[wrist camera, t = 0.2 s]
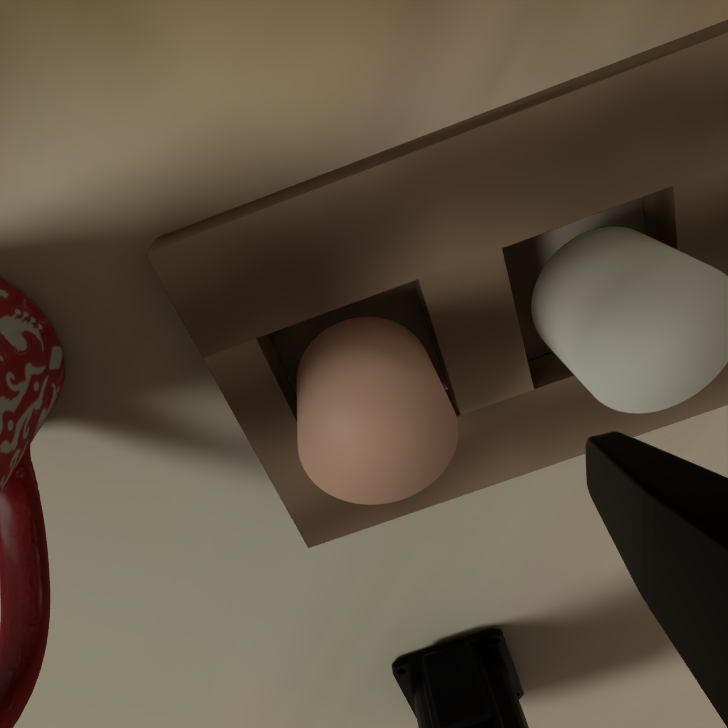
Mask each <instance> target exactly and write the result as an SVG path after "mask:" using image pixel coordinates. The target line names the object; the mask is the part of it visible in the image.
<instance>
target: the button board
mask: <svg viewBox="0 0 728 728" xmlns="http://www.w3.org/2000/svg"><path fill="white" fill-rule="evenodd" d="M641 197H643V204H644V214H645V225H646V235H647V236H649V237H651V238H653V239H655V240H657V241H659V242H661V243H664V244H666V245H668V246H670V247H672V248H674V249H676V250H678V251H680V252H682V253H685V254H687V255H689V256H691V257H693V258H695V259H697V260H699V261H701V262H704V263H706V264H708V265H710V266H712V267H714V268H716V269H718V270H720V271H721V272H723V273H724V274H726V275H727V276H728V20H726V21H724V22H721V23H718V24H716V25H713V26H711V27H708V28H705V29H703V30H700V31H698V32H695V33H692V34H690V35H687V36H684V37H682V38H679V39H677V40H674V41H671V42H669V43H666V44H663V45H661V46H658V47H656V48H653V49H650V50H648V51H645V52H643V53H640V54H637V55H635V56H632V57H629V58H627V59H624V60H622V61H619V62H616V63H614V64H611V65H608V66H606V67H603V68H601V69H598V70H595V71H593V72H590V73H588V74H585V75H582V76H580V77H577V78H574V79H572V80H569V81H567V82H564V83H561V84H559V85H556V86H553V87H551V88H548V89H546V90H543V91H540V92H538V93H535V94H532V95H530V96H527V97H525V98H522V99H519V100H517V101H514V102H512V103H509V104H506V105H504V106H501V107H498V108H496V109H493V110H491V111H488V112H485V113H483V114H480V115H477V116H475V117H472V118H470V119H467V120H464V121H462V122H459V123H457V124H454V125H451V126H449V127H446V128H443V129H441V130H438V131H436V132H433V133H430V134H428V135H425V136H422V137H420V138H417V139H415V140H412V141H409V142H407V143H404V144H402V145H399V146H396V147H394V148H391V149H388V150H386V151H383V152H381V153H378V154H375V155H373V156H370V157H367V158H365V159H362V160H360V161H357V162H354V163H352V164H349V165H347V166H344V167H341V168H339V169H336V170H333V171H331V172H328V173H326V174H323V175H320V176H318V177H315V178H312V179H310V180H307V181H305V182H302V183H299V184H297V185H294V186H292V187H289V188H286V189H284V190H281V191H278V192H276V193H273V194H271V195H268V196H265V197H263V198H260V199H257V200H255V201H252V202H250V203H247V204H244V205H242V206H239V207H236V208H234V209H231V210H229V211H226V212H223V213H221V214H218V215H216V216H213V217H210V218H208V219H205V220H202V221H200V222H197V223H195V224H192V225H189V226H187V227H184V228H181V229H179V230H176V231H174V232H171V233H168V234H166V235H163V236H161V237H158V238H157V240H156V241H155V242H154V243H153V245H152V246H151V247H150V249H149V250H148V251H147V252H146V254H145V255H146V256H147V258H148V260H149V262H150V264H151V265H152V267H153V269H154V271H155V273H156V274H157V276H158V278H159V280H160V282H161V283H162V285H163V287H164V289H165V291H166V292H167V294H168V296H169V298H170V300H171V301H172V303H173V305H174V307H175V309H176V310H177V312H178V314H179V316H180V318H181V319H182V321H183V323H184V325H185V327H186V328H187V330H188V332H189V334H190V336H191V337H192V339H193V341H194V343H195V345H196V346H197V348H198V350H199V352H200V354H201V355H202V357H203V359H204V361H205V363H206V364H207V366H208V368H209V370H210V372H211V373H212V375H213V377H214V379H215V381H216V382H217V384H218V386H219V388H220V390H221V391H222V393H223V395H224V397H225V399H226V401H227V402H228V404H229V406H230V408H231V410H232V411H233V413H234V415H235V417H236V419H237V420H238V422H239V424H240V426H241V428H242V429H243V431H244V433H245V435H246V437H247V438H248V440H249V442H250V444H251V446H252V447H253V449H254V451H255V453H256V455H257V456H258V458H259V460H260V462H261V464H262V465H263V467H264V469H265V471H266V473H267V474H268V476H269V478H270V480H271V482H272V483H273V485H274V487H275V489H276V491H277V492H278V494H279V496H280V498H281V500H282V501H283V503H284V505H285V507H286V509H287V510H288V512H289V514H290V516H291V518H292V519H293V521H294V523H295V525H296V527H297V528H298V530H299V532H300V534H301V536H302V537H303V539H304V541H305V543H306V545H307V546H308V548H310V547H313V546H316V545H319V544H322V543H325V542H328V541H331V540H334V539H336V538H339V537H342V536H345V535H348V534H351V533H354V532H357V531H360V530H363V529H366V528H369V527H372V526H375V525H377V524H380V523H383V522H386V521H389V520H392V519H395V518H398V517H401V516H404V515H407V514H410V513H413V512H415V511H418V510H421V509H424V508H427V507H430V506H433V505H436V504H439V503H442V502H445V501H448V500H451V499H453V498H456V497H459V496H462V495H465V494H468V493H471V492H474V491H477V490H480V489H483V488H486V487H489V486H491V485H494V484H497V483H500V482H503V481H506V480H509V479H512V478H515V477H518V476H521V475H524V474H527V473H529V472H532V471H535V470H538V469H541V468H544V467H547V466H550V465H553V464H556V463H559V462H562V461H565V460H567V459H570V458H573V457H576V456H579V455H582V454H585V453H586V449H585V446H586V441H587V439H588V438H589V437H591V436H594V435H598V434H602V433H606V432H610V431H617V432H621V433H623V434H625V435H628V436H630V437H635V436H638V435H641V434H644V433H646V432H649V431H652V430H655V429H658V428H661V427H664V426H667V425H670V424H673V423H676V422H679V421H682V420H684V419H687V418H690V417H693V416H696V415H699V414H702V413H705V412H708V411H711V410H714V409H717V408H720V407H722V406H725V405H728V362H727V364H726V365H725V366H724V368H723V369H722V370H721V372H720V373H719V374H718V375H717V376H716V377H715V378H714V379H713V380H712V381H711V382H710V383H709V384H708V385H707V386H706V387H704V388H703V389H702V390H701V391H699V392H698V393H697V394H695V395H693V396H692V397H690V398H689V399H687V400H685V401H683V402H681V403H679V404H677V405H675V406H672V407H670V408H667V409H663V410H660V411H656V412H650V413H639V414H638V413H626V412H620V411H617V410H614V409H611V408H610V407H608V406H606V405H604V404H602V403H601V402H600V401H598V400H597V399H596V398H595V397H594V396H593V395H592V394H591V392H590V391H589V390H588V389H587V388H586V387H585V386H584V385H583V384H582V383H581V382H580V380H579V379H578V378H577V377H576V376H575V375H574V374H573V373H572V372H571V371H570V370H569V368H568V367H567V366H566V365H565V364H564V363H563V362H562V361H561V360H560V359H559V358H558V356H557V355H556V354H555V353H554V352H553V353H551V354H548V355H545V356H542V357H539V358H536V359H534V360H531V361H527V356H526V352H525V348H524V343H523V339H522V334H521V330H520V326H519V321H518V317H517V313H516V308H515V304H514V299H513V295H512V291H511V286H510V282H509V277H508V273H507V269H506V264H505V260H504V255H503V251H502V248H504V247H507V246H510V245H512V244H515V243H518V242H521V241H523V240H526V239H529V238H532V237H534V236H537V235H540V234H542V233H545V232H548V231H551V230H553V229H556V228H559V227H562V226H564V225H567V224H570V223H572V222H575V221H578V220H581V219H583V218H586V217H589V216H592V215H594V214H597V213H600V212H602V211H605V210H608V209H611V208H613V207H616V206H619V205H622V204H624V203H627V202H630V201H632V200H635V199H638V198H641ZM412 281H414V282H415V285H416V289H417V292H418V295H419V298H420V301H421V304H422V307H423V311H424V314H425V317H426V320H427V323H428V326H429V330H430V333H431V336H432V339H433V342H434V345H435V348H436V352H437V355H438V358H439V361H440V364H441V367H442V371H443V374H444V377H445V380H446V383H447V386H448V389H449V390H446V391H445V392H446V394H447V396H448V398H449V400H450V402H451V404H452V406H453V409H454V411H455V414H456V417H457V421H458V431H459V433H458V442H457V446H456V450H455V452H454V455H453V457H452V459H451V461H450V463H449V465H448V466H447V467H446V469H445V470H444V471H443V473H442V474H441V475H440V476H439V477H438V478H437V479H436V480H435V481H434V482H433V483H431V484H430V485H429V486H428V487H426V488H425V489H423V490H422V491H420V492H418V493H416V494H414V495H412V496H410V497H407V498H405V499H402V500H399V501H395V502H391V503H386V504H376V505H365V504H356V503H351V502H347V501H343V500H341V499H338V498H335V497H333V496H331V495H330V494H328V493H326V492H325V491H323V490H322V489H320V488H319V487H318V486H317V485H316V484H315V483H314V482H313V481H312V480H311V479H310V478H309V476H308V475H307V473H306V472H305V470H304V468H303V466H302V464H301V461H300V457H299V453H298V436H297V395H296V393H295V391H294V389H293V387H292V385H291V383H290V381H289V378H288V376H287V374H286V372H285V370H284V368H283V366H282V364H281V362H280V360H279V358H278V355H277V353H276V351H275V349H274V347H273V345H272V343H271V341H270V339H269V337H268V335H267V334H270V333H273V332H275V331H278V330H281V329H283V328H286V327H289V326H292V325H294V324H297V323H300V322H303V321H305V320H308V319H311V318H313V317H316V316H319V315H322V314H324V313H327V312H330V311H333V310H335V309H338V308H341V307H343V306H346V305H349V304H352V303H354V302H357V301H360V300H363V299H365V298H368V297H371V296H373V295H376V294H379V293H382V292H384V291H387V290H390V289H393V288H395V287H398V286H401V285H403V284H406V283H409V282H412Z"/></svg>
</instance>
